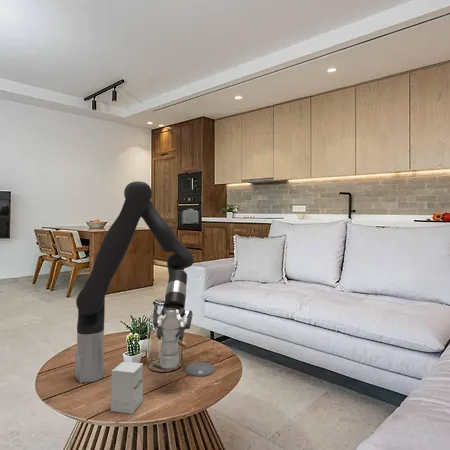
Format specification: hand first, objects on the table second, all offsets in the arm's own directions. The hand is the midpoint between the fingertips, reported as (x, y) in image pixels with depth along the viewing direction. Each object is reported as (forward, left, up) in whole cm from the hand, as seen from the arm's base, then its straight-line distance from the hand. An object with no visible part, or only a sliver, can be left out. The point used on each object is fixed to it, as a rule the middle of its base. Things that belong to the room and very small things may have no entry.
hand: (169, 338), depth 120 cm
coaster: (+18, +7, -18) cm, 26 cm away
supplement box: (-15, 0, -18) cm, 24 cm away
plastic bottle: (+1, +1, -11) cm, 11 cm away
